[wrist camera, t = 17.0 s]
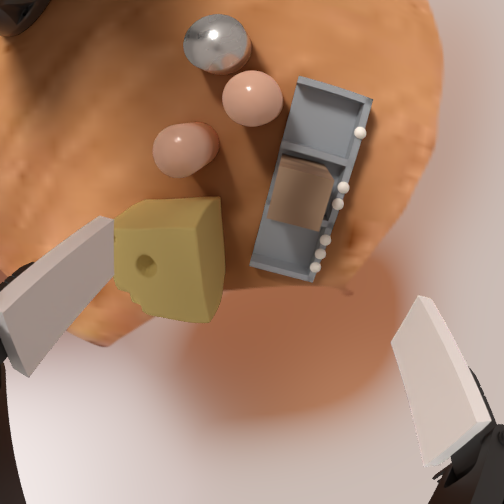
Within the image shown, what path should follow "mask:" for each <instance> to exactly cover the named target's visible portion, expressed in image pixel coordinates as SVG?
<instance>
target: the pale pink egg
mask: <svg viewBox="0 0 504 504" xmlns="http://www.w3.org/2000/svg"><path fill="white" fill-rule="evenodd" d="M222 101H223V106H224V109H225V111H226V113H227V114H228V116H229V117H230V118H231V119H232V120H233V121H235V122H237V123H238V124H241V125H244V126H251V127H253V126H260V125H263V124H266V123H269V122H271V121H273V120H274V119H275V118H277V116H278V115H279V114H280V112H281V110H282V108H283V95H282V92H281V90H280V88H279V86H278V84H277V83H276V81H275V80H274V79H273V78H272V77H270V76H269V75H267V74H265V73H263V72H260V71H245V72H241V73H239V74H237V75H235V76H234V77H233V78H231V79H230V80H229V82H228V83H227V84H226V86H225V88H224V91H223V96H222Z"/></svg>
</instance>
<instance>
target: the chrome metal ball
mask: <svg viewBox="0 0 504 504" xmlns="http://www.w3.org/2000/svg"><path fill="white" fill-rule="evenodd" d="M183 47H184V52H185V55H186V57H187V59H188V60H189V61H190V62H191V63H192V64H193V65H195V66H196V67H198V68H201V69H203V70H205V71H207V72H209V73H212V74H216V75H227V74H231V73H234V72H236V71H238V70H239V69H241V68H242V67H243V66H244V65H245V64H246V63H247V62H248V60H249V58H250V56H251V52H252V44H251V40H250V38H249V36H248V35H247V33H246V31H245V29H244V28H243V26H242V25H241V24H240V23H239V22H238V21H237V20H236V19H234V18H232V17H230V16H227V15H222V14H214V15H209V16H206V17H203V18H201V19H199V20H198V21H196V22H195V23H194V24H193V25H192V26H191V27H190V28H189V30H188V31H187V33H186V35H185V38H184V43H183Z"/></svg>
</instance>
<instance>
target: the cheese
mask: <svg viewBox="0 0 504 504" xmlns="http://www.w3.org/2000/svg"><path fill="white" fill-rule="evenodd" d="M225 272H226V269H225V250H224V237H223V226H222V215H221V198H220V197H191V198H180V199H149V200H143V201H141V202H139V203H136V204H135V205H133V206H131V207H130V208H128V209H127V210H125V211H124V212H123V213H122V214H120V215H119V216H117V217H116V218H114V276H113V278H114V281H115V284H116V286H117V288H118V289H119V290H122V291H125V292H129V293H130V296H131V300H132V302H134V303H137V304H140V305H141V307H142V311H143V312H144V313H146V314H148V315H152V316H157V317H163V318H168V319H174V320H178V321H184V322H192V323H209V322H210V321H211V320H212V318H213V316H214V315H215V313H216V311H217V309H218V307H219V305H220V302H221V298H222V293H223V284H224V276H225Z"/></svg>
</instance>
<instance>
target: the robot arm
mask: <svg viewBox="0 0 504 504" xmlns="http://www.w3.org/2000/svg"><path fill="white" fill-rule="evenodd" d="M49 1H50V0H0V36H15V35H18V34H20V33H21V32H23V31H24V30H26V29H27V28H28V27H29V26H30V25H31V24H32V23H33V22H34V21H35V20H36V19H37V18H38V17H39V16H40V14H41V13H42V12H43V10H44V9H45V7H46V6H47V4H48V3H49ZM113 276H114V219H110V218H106V217H102V216H98V217H97V218H95V219H94V220H92V221H91V222H89V223H88V224H86V225H85V226H83V227H82V228H81V229H79V230H78V231H76V232H75V233H74V234H72V235H71V236H69V237H68V238H67V239H65V240H64V241H63V242H61V243H60V244H59V245H57V246H56V247H55V248H53V249H52V250H51V251H49V252H48V253H47V254H45V255H44V256H43V257H41V258H40V259H39V260H38V261H36V262H31V263H29V264H26V265H24V266H22V267H20V268H19V269H18V270H17V271H15V272H14V273H13V274H12V276H9V277H8V278H7V279H6V280H5V282H2V283H1V284H0V504H26V501H25V498H24V494H23V490H22V487H21V483H20V479H19V475H18V470H17V466H16V461H15V456H14V451H13V445H12V440H11V432H10V425H9V417H8V406H7V394H6V373H5V371H6V370H5V366H4V363H3V361H4V360H5V359H6V358H7V357H8V358H9V360H10V362H11V364H12V366H13V368H14V369H16V370H17V371H19V372H20V373H22V374H23V375H25V376H27V377H30V375H31V374H32V373H33V372H34V370H35V369H36V367H37V366H38V365H39V364H40V362H41V361H42V360H43V358H44V357H45V356H46V354H47V353H48V352H49V351H50V349H51V348H52V347H53V346H54V344H55V343H56V342H57V341H58V339H59V338H60V337H61V336H62V335H63V333H64V332H65V331H66V330H67V328H68V327H69V326H70V325H71V324H72V322H73V321H74V320H75V319H76V318H77V317H78V315H79V314H80V313H81V312H82V311H83V310H84V308H85V307H86V306H87V305H88V304H89V303H90V301H91V300H92V299H93V298H94V297H95V296H96V295H97V294H98V292H99V291H100V290H101V289H102V288H103V287H104V286H105V285H106V283H107V282H108V281H109V280H110V279H111V278H112V277H113ZM391 345H392V348H393V351H394V354H395V357H396V361H397V364H398V367H399V371H400V374H401V377H402V381H403V384H404V387H405V391H406V395H407V398H408V402H409V406H410V410H411V414H412V417H413V422H414V426H415V430H416V434H417V439H418V443H419V448H420V452H421V458H422V462H423V467H427V466H436V465H440V464H441V463H443V462H444V461H445V460H446V459H448V458H449V457H451V461H452V463H451V464H450V465H448V466H447V467H445V468H444V469H443V470H441V471H440V472H438V473H437V474H436V475H435V476H434V477H433V478H432V479H434V480H435V479H436V478H438V477H439V476H440V475H443V476H442V478H441V479H440V480H438V481H437V482H438V483H439V484H438V486H437V488H436V490H435V492H434V494H433V496H432V497H431V499H430V501H429V503H428V504H504V425H503V424H498V425H497V424H496V422H495V419H494V416H493V414H492V411H491V409H490V406H489V404H488V402H487V399H486V397H485V396H484V392H483V390H482V388H480V383H479V381H478V379H477V377H476V375H475V374H474V373H473V371H472V370H471V369H470V368H469V367H468V366H467V364H466V361H465V359H464V357H463V355H462V353H461V351H460V349H459V347H458V345H457V344H456V342H455V340H454V338H453V336H452V334H451V333H450V331H449V329H448V327H447V325H446V323H445V321H444V320H443V318H442V316H441V314H440V312H439V311H438V309H437V307H436V306H435V304H434V302H433V300H432V299H431V298H428V297H424V296H420V295H418V296H417V298H416V300H415V301H414V303H413V305H412V307H411V309H410V311H409V312H408V314H407V316H406V318H405V319H404V321H403V323H402V324H401V326H400V328H399V329H398V331H397V333H396V334H395V336H394V338H393V339H392V341H391Z"/></svg>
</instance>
